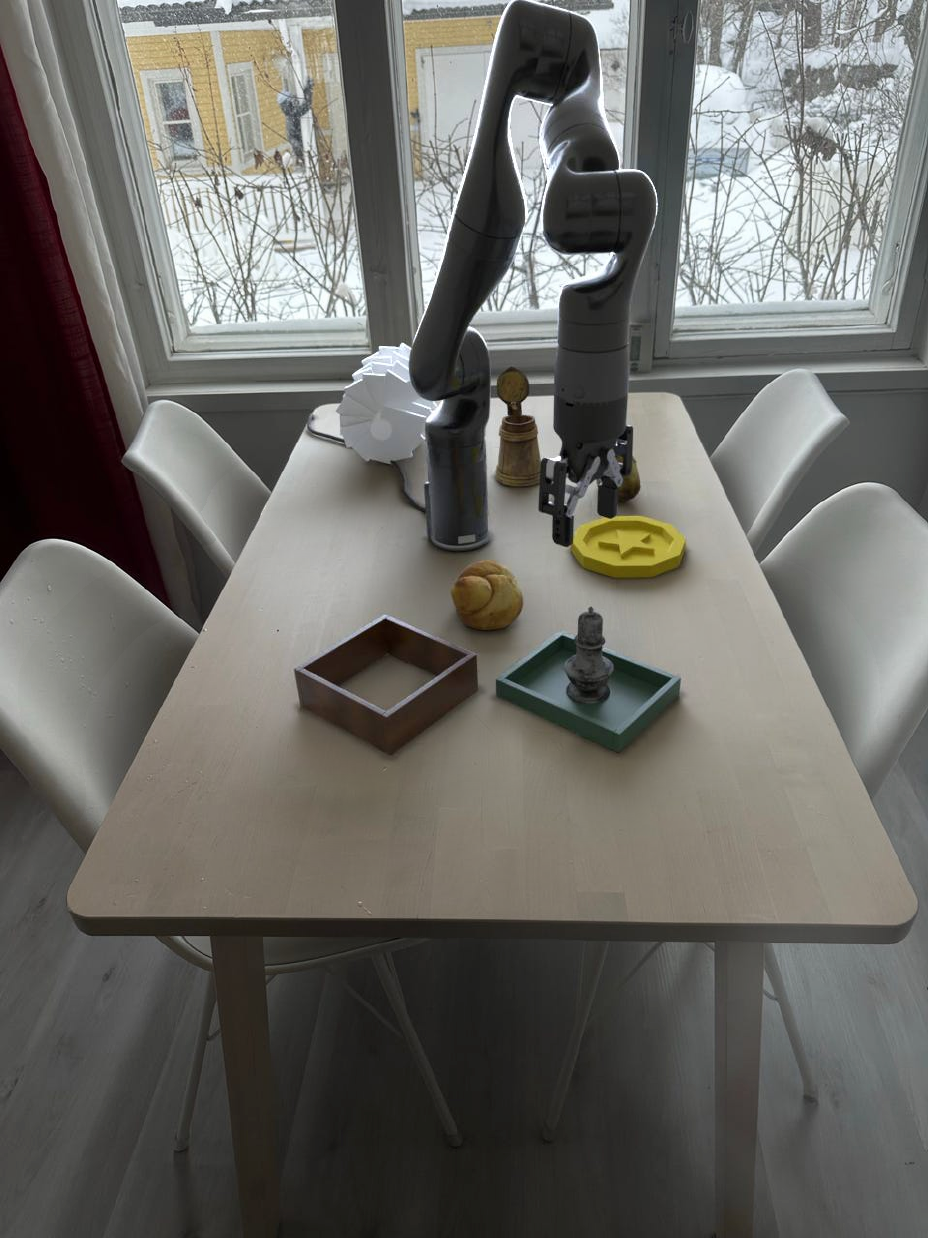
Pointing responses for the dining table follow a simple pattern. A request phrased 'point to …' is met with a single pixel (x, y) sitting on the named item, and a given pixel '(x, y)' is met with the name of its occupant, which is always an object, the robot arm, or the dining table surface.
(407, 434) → the spiral staircase
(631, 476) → the potato
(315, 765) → the dining table surface
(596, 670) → the salt shaker
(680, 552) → the decorative disc
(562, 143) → the robot arm
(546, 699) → the tray
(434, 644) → the open box
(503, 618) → the bread roll
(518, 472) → the wooden mug
